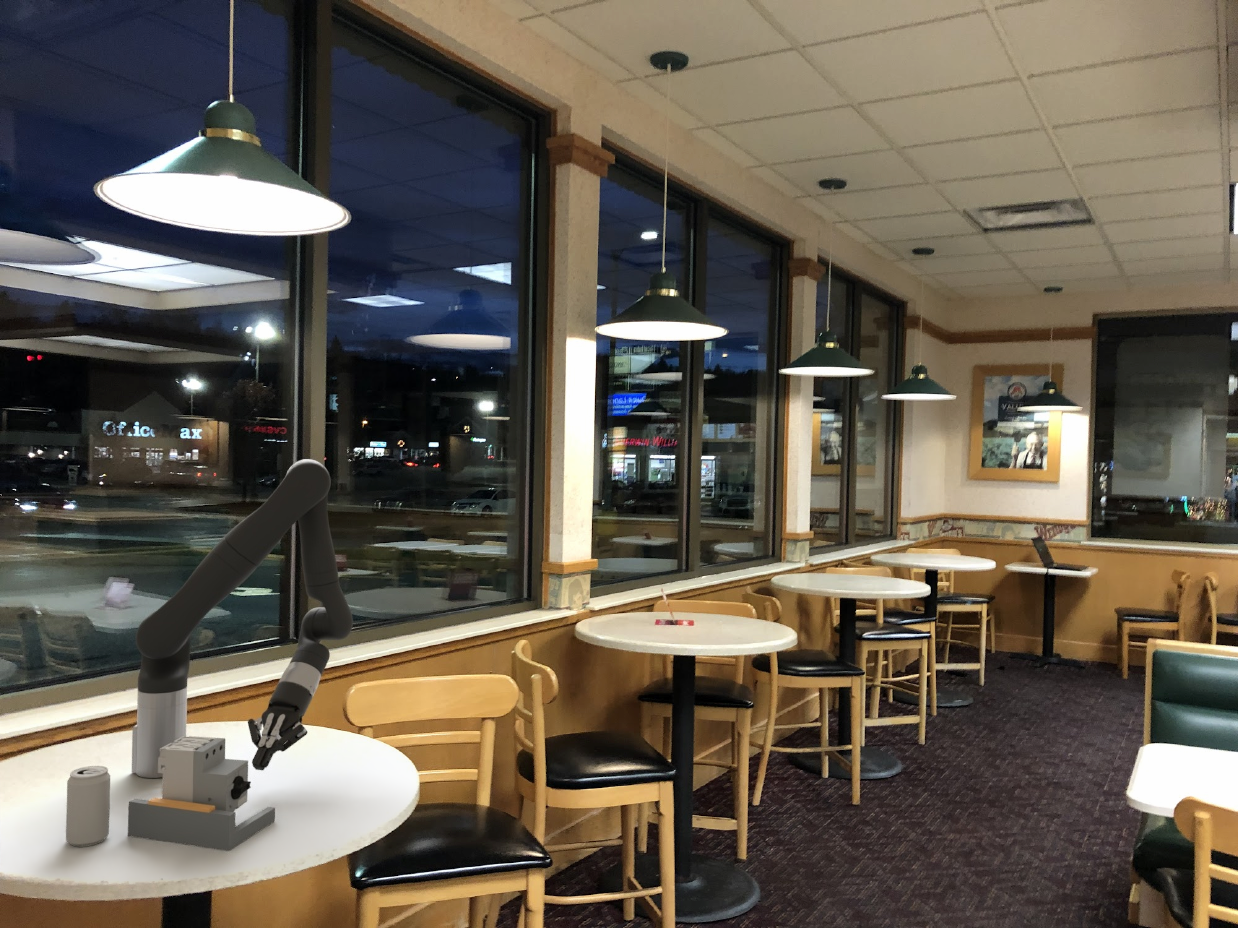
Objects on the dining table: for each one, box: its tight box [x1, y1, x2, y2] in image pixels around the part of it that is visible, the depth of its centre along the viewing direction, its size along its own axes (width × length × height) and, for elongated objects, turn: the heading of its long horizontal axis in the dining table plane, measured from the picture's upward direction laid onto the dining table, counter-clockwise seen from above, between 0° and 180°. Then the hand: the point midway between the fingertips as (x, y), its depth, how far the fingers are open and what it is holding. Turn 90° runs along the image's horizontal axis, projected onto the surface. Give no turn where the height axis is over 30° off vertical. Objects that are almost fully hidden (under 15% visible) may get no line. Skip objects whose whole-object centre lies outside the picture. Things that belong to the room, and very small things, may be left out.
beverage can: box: [65, 765, 111, 848], centre depth 158 cm, size 6×6×12 cm
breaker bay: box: [127, 797, 276, 852], centre depth 165 cm, size 20×13×7 cm, turn 77°
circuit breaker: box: [158, 735, 252, 812], centre depth 165 cm, size 8×14×15 cm, turn 84°
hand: (257, 767), depth 180 cm, fingers closed
